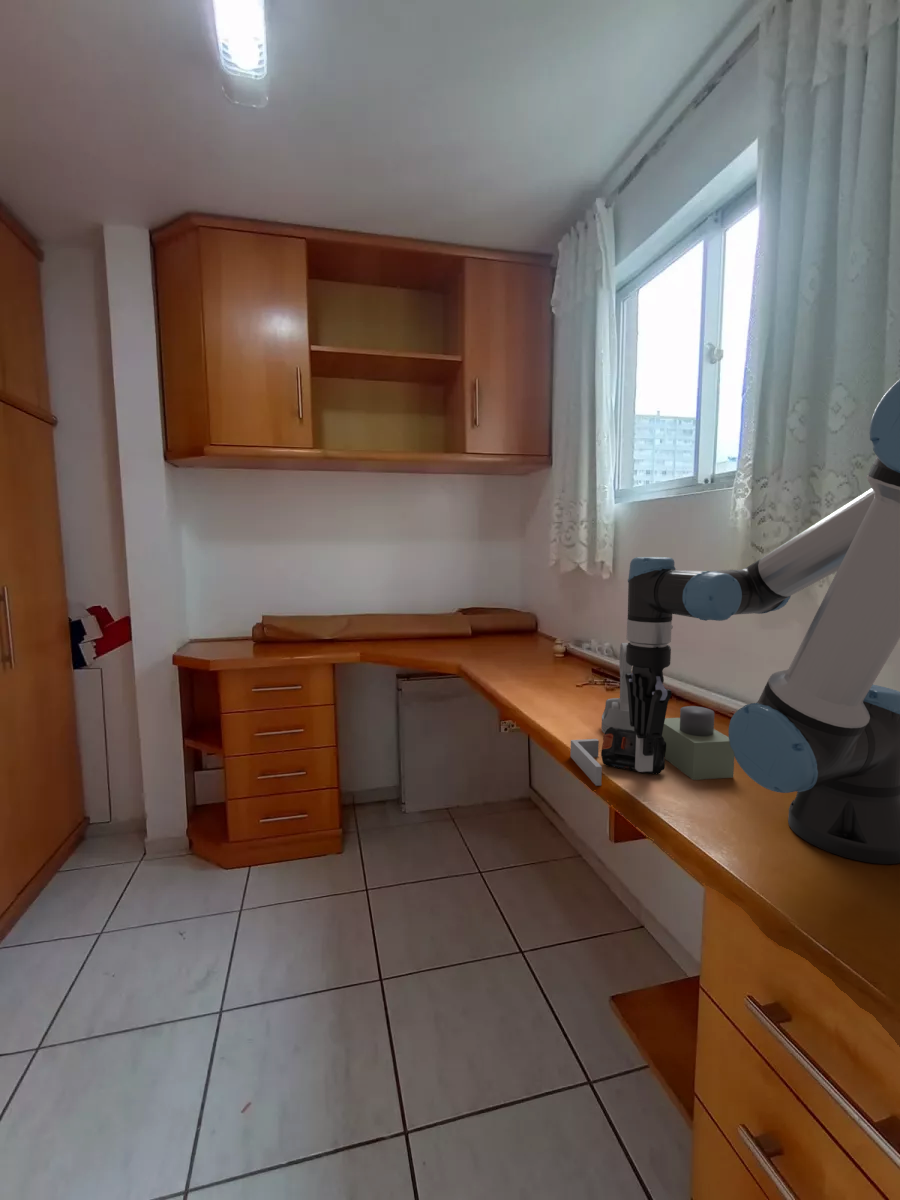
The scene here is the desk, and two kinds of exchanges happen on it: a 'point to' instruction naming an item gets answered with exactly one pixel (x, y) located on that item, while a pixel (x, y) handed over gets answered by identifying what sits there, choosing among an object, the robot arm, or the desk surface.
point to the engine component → (619, 699)
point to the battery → (629, 750)
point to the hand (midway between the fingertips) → (643, 769)
